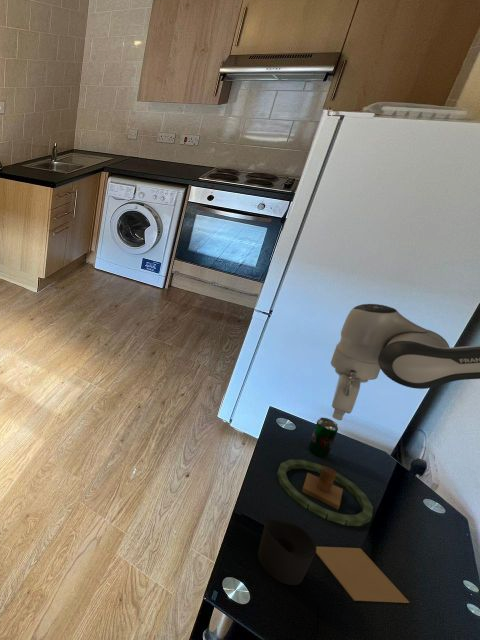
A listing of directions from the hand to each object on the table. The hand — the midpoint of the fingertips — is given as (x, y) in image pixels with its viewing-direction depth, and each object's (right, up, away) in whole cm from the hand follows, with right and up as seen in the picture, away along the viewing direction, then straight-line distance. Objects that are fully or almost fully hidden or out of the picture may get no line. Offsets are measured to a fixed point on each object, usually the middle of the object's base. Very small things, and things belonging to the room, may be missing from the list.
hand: (338, 409), depth 106 cm
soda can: (+16, -24, +25) cm, 38 cm away
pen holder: (-24, -34, -10) cm, 42 cm away
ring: (+5, -28, +10) cm, 30 cm away
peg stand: (+5, -28, +10) cm, 30 cm away
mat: (-6, -34, -11) cm, 37 cm away
